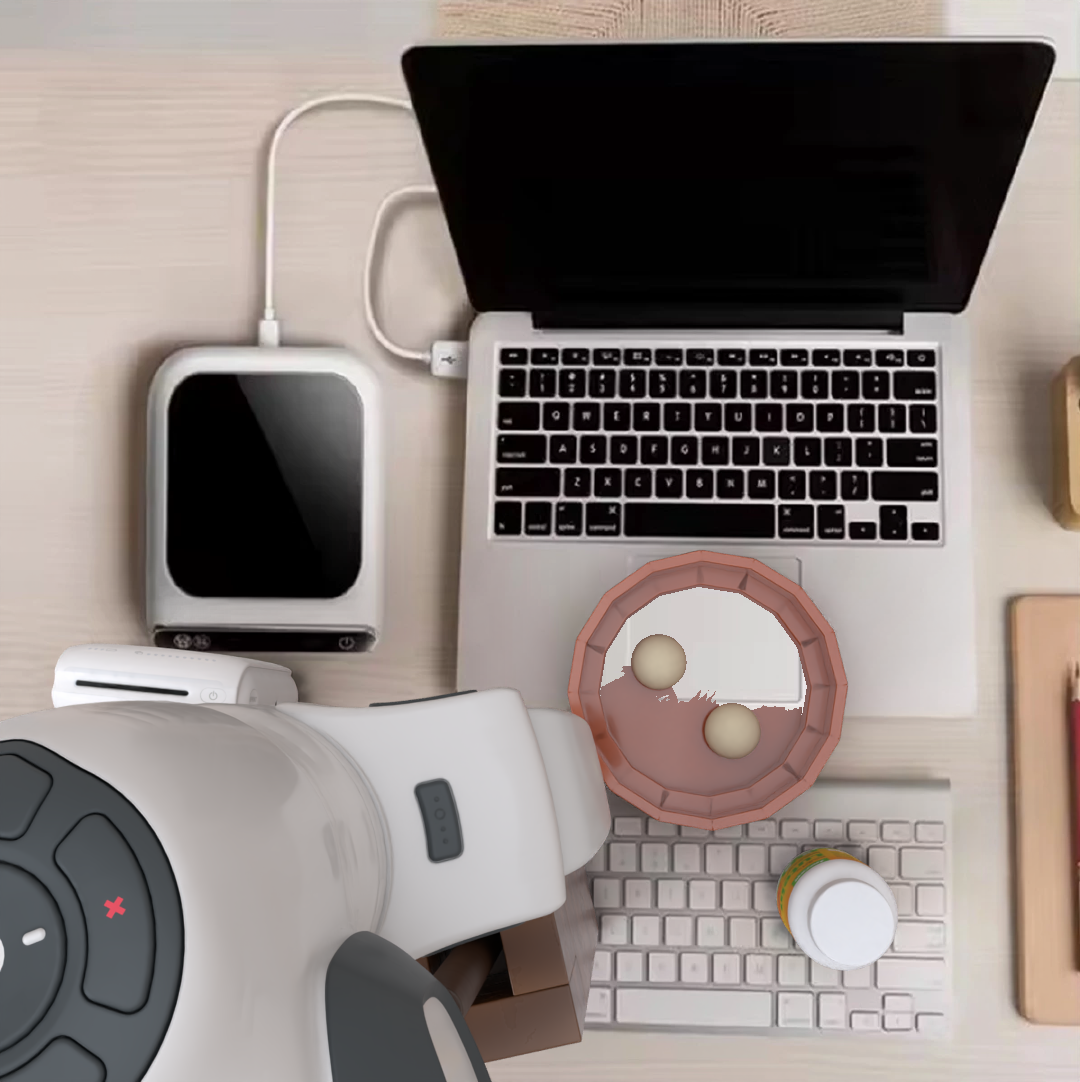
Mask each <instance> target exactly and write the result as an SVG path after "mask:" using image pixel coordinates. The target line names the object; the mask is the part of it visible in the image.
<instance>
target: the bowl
mask: <svg viewBox="0 0 1080 1082" xmlns="http://www.w3.org/2000/svg"><path fill="white" fill-rule="evenodd" d="M696 587H702V588H708V589H714V590H720V591H727V592H733V593H739V594H741V595H743V596H744V597H746V598H748V599H749V600H751V601H752V602H754V603H756V604H757V605H759V606H761V607H762V608H764V609H765V610H767V611H769V612H770V613H772V614H773V615H774V616H775V618H776V619H777V620H778V622H779V623H780V624H781V626H782V627H783V628H784V630H785V631H786V633H787V634H788V635H789V637H790V638H791V640H792V641H793V642H794V644H795V645H796V647H797V649H798V653H799V657H800V661H801V664H802V669H803V673H804V677H805V681H806V685H807V689H806V695H805V702H804V707H803V713H802V707H799V709H797V708H794V709H793V710H789V709H788V711H787V710H785V707H776V706H774V707H767V706H764V705H763V706H762V707H761V708H757V709H754V710H751V711H752V712H753V713H754V714H755V715H756V717H757V718H758V721H759V723H760V728H761V736H760V740H759V743H758V745H757V747H756V748H755V749H754V750H753V751H752V752H751V753H750V754H749V755H747V756H745V757H743V758H740V759H727V758H723V757H721V756H719V755H717V754H716V753H715V752H714V751H713V750H712V749H711V748H710V747H709V745H708V743H707V741H706V738H705V724H706V721H707V718H708V716H709V715H710V714H711V712H712V711H713V710H714V709H716V708H717V707H719V704H716V700H715V701H714V702H713V703H712V702H711V699H712V697H713V696H714V695H715V692H716V691H715V692H714V694H713V695H712V696H711V697H709V698H708V699H707V701H706V698H707V693H706V694H705V695H704V696H703V697H701V698H700V697H699V696H700V693H701V690H700V691H699V692H698V693H697V695H696V696H695V697H693V698H692V699H691V700H690V701H689V702H684V701H680V702H679V703H678V699H677V696H676V694H675V692H674V690H673V688H672V687H669V688H667V689H660V690H658V689H652V688H649V687H647V686H645V685H643V684H642V683H641V682H640V681H639V680H638V679H637V678H636V676H635V675H634V673H633V670H632V666H623V667H622V668H623V670H622V671H621V672H624V673H625V674H624V676H622V677H620V678H619V679H615V680H614V681H612V682H610V683H608V684H606V685H605V686H602V687H601V682H602V676H603V670H604V664H605V657H606V653H607V651H608V649H609V648H610V646H611V645H612V643H613V641H614V640H615V638H616V637H617V635H618V633H619V632H620V630H621V628H622V627H623V625H624V624H625V622H626V620H627V619H628V618H630V617H631V616H632V615H634V614H635V613H637V612H638V611H639V610H641V609H642V608H644V607H645V606H647V605H648V604H649V603H651V602H652V601H653V600H655V599H656V598H658V597H659V596H662V595H666V594H671V593H675V592H679V591H683V590H688V589H692V588H696ZM848 684H849V682H848V677H847V674H846V670H845V666H844V662H843V658H842V655H841V650H840V647H839V643H838V640H837V636H836V631H835V630H834V628H833V627H832V626H831V624H830V623H829V622H828V620H827V619H826V617H825V616H824V615H823V614H822V612H821V611H820V609H819V608H818V606H817V605H816V604H815V603H814V601H813V600H812V599H811V597H810V596H809V595H808V593H807V592H806V590H804V588H803V587H802V586H801V585H799V584H798V583H797V582H794V580H791V579H790V578H788V577H787V576H785V575H783V574H781V573H780V572H778V571H776V570H775V569H773V568H771V567H770V566H768V565H767V564H765V563H763V562H762V561H760V560H758V559H757V558H754V557H748V556H743V555H738V554H737V555H735V554H731V553H724V552H718V551H711V550H705V549H697V550H694V551H689V552H684V553H681V554H676V555H672V556H668V557H664V558H663V557H662V558H659V559H655V560H651V561H648V562H646V563H644V564H643V565H642V566H641V567H639V568H637V569H636V570H635V571H634V572H632V573H631V574H629V575H628V576H627V577H625V578H624V579H622V580H621V581H620V582H618V583H617V584H615V585H614V586H612V587H611V588H610V589H608V590H607V591H605V593H604V594H603V595H602V596H601V598H600V599H599V601H598V603H597V605H596V606H595V608H594V609H593V611H592V612H591V614H590V616H589V618H588V619H587V620H586V622H585V624H584V625H583V627H582V628H581V630H580V632H579V633H578V635H577V636H576V639H575V642H574V649H573V655H572V660H571V666H570V673H569V678H568V684H567V689H566V692H567V693H566V694H567V699H568V704H569V708H570V711H571V712H570V713H573V714H575V715H577V716H579V717H581V718H582V719H584V720H585V721H586V722H587V723H588V725H589V727H590V729H591V732H592V735H593V739H594V743H595V747H596V751H597V755H598V759H599V763H600V767H601V771H602V775H603V780H604V785H605V786H607V788H608V790H609V791H610V792H611V793H613V794H614V795H616V796H618V797H619V798H620V799H622V800H623V801H625V802H627V803H628V804H630V805H631V806H633V807H635V808H636V809H638V810H639V811H641V812H643V813H644V814H645V815H647V816H648V817H651V818H652V819H653V820H655V821H657V822H659V823H666V824H671V825H676V826H683V827H688V828H693V829H699V830H704V831H708V832H709V831H710V832H713V831H714V832H715V831H720V830H723V829H728V828H733V827H736V826H741V825H746V824H750V823H754V822H755V823H756V822H759V821H764V820H767V819H769V818H770V817H772V816H773V815H774V814H776V813H777V812H779V811H780V810H782V809H783V808H784V807H786V806H787V805H788V804H790V803H791V802H792V801H794V800H796V799H797V798H798V797H800V796H801V795H802V794H803V793H805V792H806V791H808V790H810V789H811V788H812V787H813V785H814V783H815V782H816V780H817V779H818V778H819V775H820V774H821V772H822V771H823V769H824V767H825V765H827V762H828V761H829V759H830V758H831V755H832V754H833V753H834V751H835V749H836V747H837V746H838V745H839V742H841V741H840V740H841V736H842V729H843V723H844V718H845V710H846V704H847V695H848V690H849V685H848ZM600 688H601V690H600ZM708 691H709V690H708ZM600 695H601V696H600ZM666 695H669V696H668V697H665V698H664V699H663V700H661V702H660V701H659V700H658V699H659V698H661V697H663V696H666ZM656 696H657V697H656ZM667 698H668V699H670V700H668V701H666V699H667ZM699 698H700V699H699ZM698 699H699V700H698ZM801 714H802V715H801Z"/></svg>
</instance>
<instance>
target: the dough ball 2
mask: <svg viewBox="0 0 1080 1082" xmlns="http://www.w3.org/2000/svg"><path fill="white" fill-rule="evenodd" d="M760 736H761V728H760V723H759V721H758V718H757V717H756V715H755V714H754V713H753V712H752V711H751V710H750V709H749V708H747V707H746V706H744V705H741V704H737V703H727V704H723V705H721V706H719V707H717V708H716V709H714V710H713V711H712V712H711V714H710V715H709V716H708V718H707V721H706V724H705V738H706V741H707V743H708V745H709V747H710V748H711V749H712V750H713V751H714V752H715V753H716V754H717V755H719V756H721V757H723V758H727V759H740V758H743V757H745V756H747V755H749V754H750V753H751V752H752V751H753V750H754V749H755V748H756V747H757V745H758V743H759V740H760Z"/></svg>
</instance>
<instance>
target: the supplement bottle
mask: <svg viewBox="0 0 1080 1082" xmlns="http://www.w3.org/2000/svg"><path fill="white" fill-rule="evenodd" d="M787 863H788V864H786V866H785V867H784V868H783V870H782V872H781V873H780V875H779V879H778V881H777V885H776V891H775V903H776V908H777V911H778V915H779V917H780V920H781V921H782V923H783V925H784V927H785V928H786V930H787V931H788V933H789V934H790V935H791V937H792V938H793V940H794V941H795V943H796V944H797V946H798V947H799V948H800V949H801V951H803V953H804V954H805V955H807V956H808V958H810V959H811V960H812V961H814V962H815V963H816V964H819V965H821V966H823V967H825V968H828V969H832V970H838V971H857V970H860V969H864V968H866V967H868V966H870V965H873V964H874V963H875V962H877V961H879V959H881V958H882V957H883V955H885V953H887V951H888V950H889V948H890V947H891V946H892V944H893V942H894V940H895V937H896V934H897V931H898V924H899V910H898V904H897V900H896V898H895V894H894V892H893V891H892V889H891V887H890V886H889V884H888V883H887V881H886V880H885V879H884V878H883V877H882V876H881V875H880V874H879V873H878V872H877V871H876V870H875V869H874V868H872V867H871V866H869V865H868V864H866V863H864V861H862V860H860V859H859V858H857V857H855V856H854V855H852V854H851V853H848V852H846V851H845V850H842V849H838V848H833V847H814V848H811V849H808V850H805V851H802V852H801V853H799V854H798V855H796V856H794V858H792V859H791V860H790V861H789V862H787Z"/></svg>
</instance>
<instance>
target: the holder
mask: <svg viewBox="0 0 1080 1082" xmlns="http://www.w3.org/2000/svg"><path fill="white" fill-rule="evenodd" d="M565 885H566V901H565V903H564V904H563V905H562V906H561V907H560V908H559V909H557V910H556V911H554V912H552V913H551V914H548V915H546V916H542V917H539V918H536V919H532V920H528V921H526V922H525V923H523V924H521V925H519V926H517V927H514V928H511V929H507V930H504V931H501V932H500V936H501V940H502V945H503V949H502V951H501V952H500V954H499V956H498V958H497V960H496V961H495V963H494V965H493V967H492V969H491V971H490V972H489V974H488V976H487V978H486V980H485V981H484V983H483V985H482V987H481V989H480V990H479V992H478V994H477V996H476V998H475V1000H474V1001H473V1003H472V1005H471V1007H470V1009H469V1010H468V1012H467V1014H466V1016H465V1018H464V1019H465V1021H466V1023H467V1025H468V1027H469V1029H470V1032H471V1034H472V1036H473V1038H474V1040H475V1042H476V1044H477V1047H478V1049H479V1051H480V1054H481V1056H482V1058H483V1061H484V1063H485V1064H487V1063H491V1062H497V1061H501V1060H506V1059H511V1058H515V1057H519V1056H524V1055H528V1054H532V1053H533V1054H534V1053H539V1052H542V1051H546V1050H550V1049H555V1048H561V1047H565V1046H570V1045H574V1044H578V1043H581V1042H583V1041H582V1040H583V1035H584V1028H585V1021H586V1016H587V1010H588V1009H587V1008H588V1003H589V997H590V989H591V983H592V978H593V977H592V976H593V970H594V965H595V958H596V951H597V944H598V937H599V932H600V929H599V924H598V919H597V916H596V910H595V906H594V901H593V897H592V893H591V888H590V884H589V879H588V876H587V870H586V867H585V865H583V866H582V867H580V868H579V869H577V870H575V871H573V872H571V873H570V874H567V875H565ZM453 949H454V947H453V948H450V949H447V950H444V951H442V952H439V953H436V954H434V955H431V956H427V957H420V958H418V959H416V961H417V962H418V963H419V964H421V965H422V966H423V967H424V968H425V969H426V970H427V971H429V972H430V973H431V974H432V975H434V974H435V972H436V971H437V970H438V968H439V967H440V966H441V965H442V963H443V962H444V961H445V959H446V958H447V957H448V955H449V954H450V953H451V951H452V950H453Z"/></svg>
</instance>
